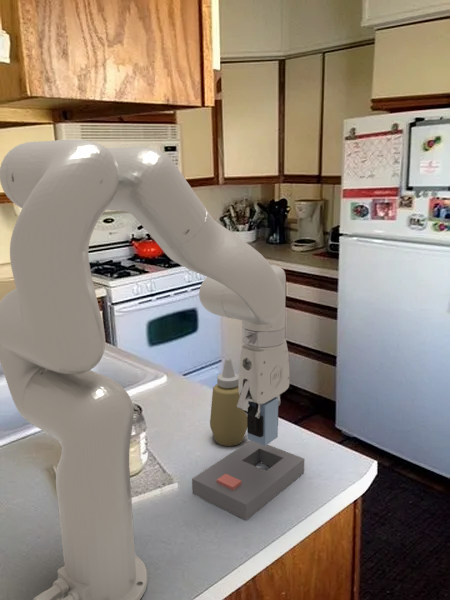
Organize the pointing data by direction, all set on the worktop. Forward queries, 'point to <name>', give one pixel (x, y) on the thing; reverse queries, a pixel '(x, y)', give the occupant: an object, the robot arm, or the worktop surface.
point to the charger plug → (267, 422)
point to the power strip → (247, 478)
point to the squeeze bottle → (227, 409)
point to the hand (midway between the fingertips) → (262, 428)
